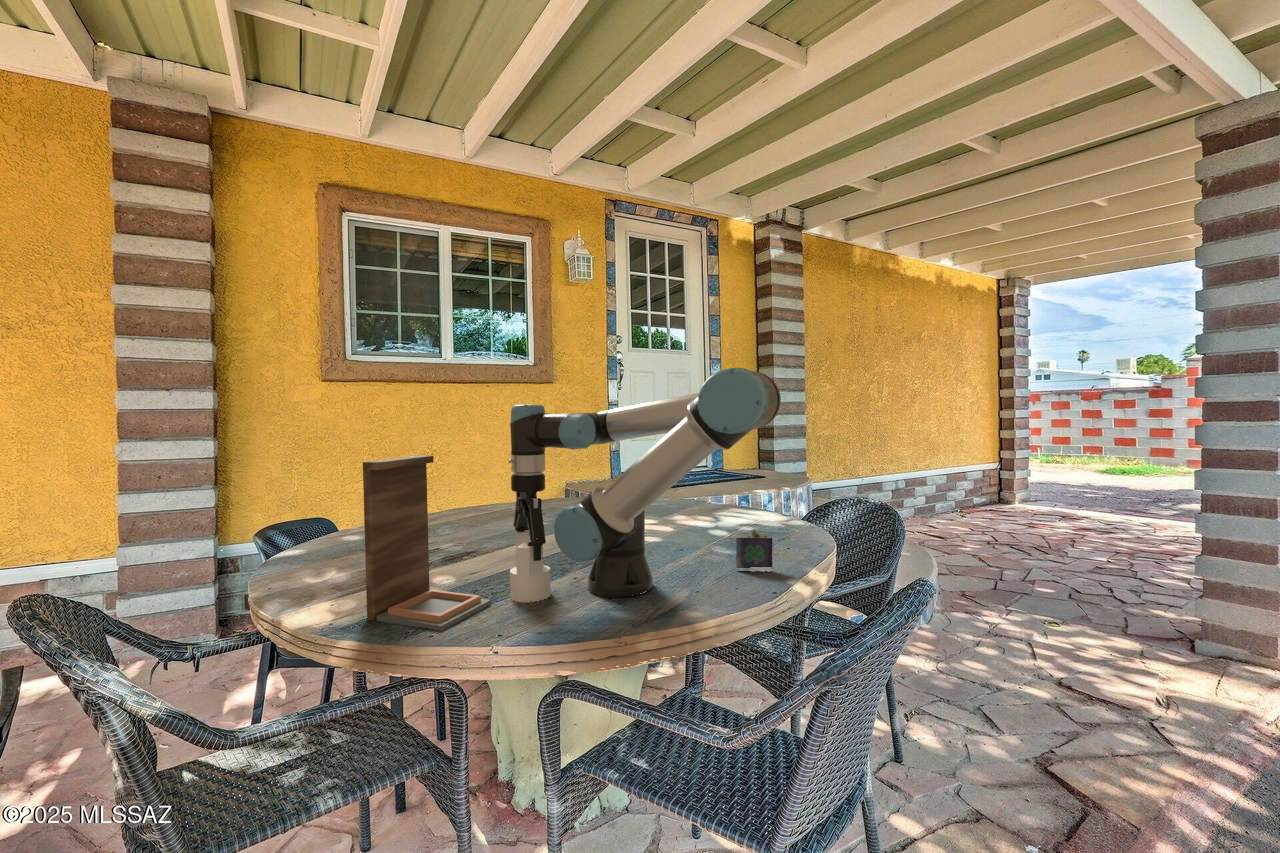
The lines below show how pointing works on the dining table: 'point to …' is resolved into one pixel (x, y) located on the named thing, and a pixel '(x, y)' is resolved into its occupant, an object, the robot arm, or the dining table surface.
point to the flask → (753, 550)
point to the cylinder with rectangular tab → (528, 578)
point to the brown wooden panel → (395, 531)
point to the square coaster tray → (434, 609)
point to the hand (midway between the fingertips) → (528, 566)
